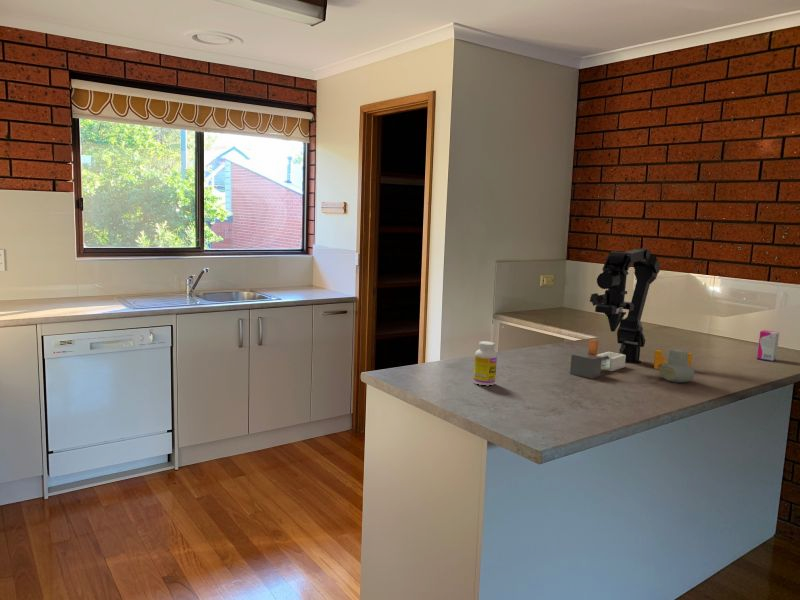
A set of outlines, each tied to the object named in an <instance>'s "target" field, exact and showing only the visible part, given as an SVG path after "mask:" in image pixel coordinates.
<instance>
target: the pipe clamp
mask: <svg viewBox="0 0 800 600" xmlns="http://www.w3.org/2000/svg"><path fill="white" fill-rule="evenodd" d="M688 353H689V354H688V365H689V366H691V367H692V359H693V358H692V357H693V354H692V353H691V352H688ZM666 362H668V360H666V359H665V358H664V356H663V351H662V350H661V349H654V354H653V363H652V364H653V366H654V367H653V366H652V367H653V368H654V369H655V370H659V368H660V366H661V365H662V364H664V363H666Z"/></svg>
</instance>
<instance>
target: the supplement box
mask: <svg viewBox="0 0 800 600" xmlns="http://www.w3.org/2000/svg"><path fill="white" fill-rule="evenodd" d="M779 337H780V331H772V330H760V332H759V338H758V339H759V340H758V346H757V347H758V348H757V356H756V359H757V360H760V361H765V362H772V363H774V362H775V361H777V354H778V346H779V339H780V338H779Z"/></svg>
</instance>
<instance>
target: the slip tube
mask: <svg viewBox="0 0 800 600" xmlns="http://www.w3.org/2000/svg"><path fill="white" fill-rule="evenodd" d="M588 342H589V343H588V351H587V352H588V353H587V354H590V355H595V356H597V355H598V347H599V340H598V339H593V338H592V339H589V341H588ZM600 357H602V360H601V367H603V366H606V365H609V364H610V358H609V357H608V356H607V355H604V356H600Z"/></svg>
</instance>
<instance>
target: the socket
mask: <svg viewBox="0 0 800 600" xmlns="http://www.w3.org/2000/svg"><path fill="white" fill-rule="evenodd" d="M601 360H602V357H600V356H595V355H590V354H588V353H584V352H577V353H573V354H571V358H570V368H569V369H570V370H569V374H570V375H573V376H579V377H583V378H587V379H591V380H593V379H596V378H598V377H599V378H600V377H601V371H602V369H601Z"/></svg>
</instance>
